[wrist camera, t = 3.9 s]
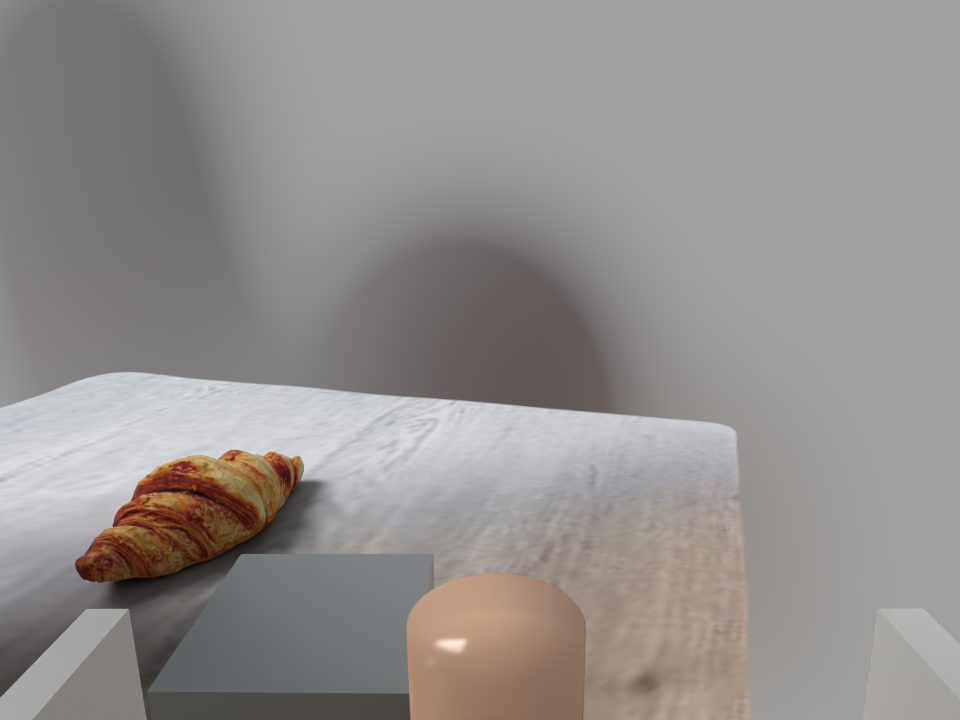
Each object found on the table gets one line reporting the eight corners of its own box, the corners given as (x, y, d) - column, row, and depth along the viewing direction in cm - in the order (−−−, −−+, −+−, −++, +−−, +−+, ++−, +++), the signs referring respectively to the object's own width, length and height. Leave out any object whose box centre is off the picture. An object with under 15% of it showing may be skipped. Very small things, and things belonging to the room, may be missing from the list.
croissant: (279, 510, 66) (242, 433, 66) (354, 479, 61) (315, 397, 61) (67, 635, 47) (15, 529, 47) (153, 605, 42) (96, 486, 42)
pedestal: (158, 763, 33) (146, 691, 32) (247, 610, 44) (241, 554, 43) (412, 766, 32) (408, 693, 31) (435, 610, 44) (433, 554, 43)
